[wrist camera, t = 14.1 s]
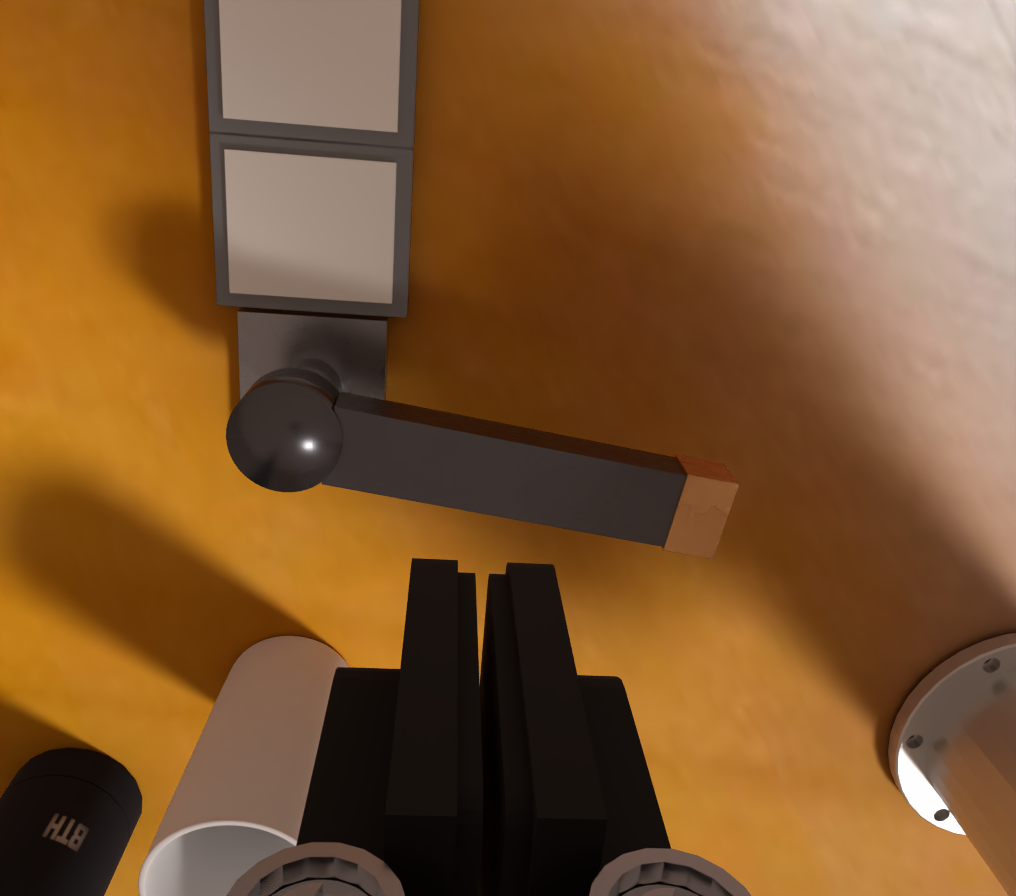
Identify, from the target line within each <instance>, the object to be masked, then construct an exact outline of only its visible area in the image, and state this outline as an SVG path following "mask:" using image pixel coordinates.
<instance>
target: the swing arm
mask: <svg viewBox="0 0 1016 896" xmlns="http://www.w3.org/2000/svg"><path fill="white" fill-rule="evenodd" d="M226 440H227V446H228V450H229V453H230V455H231V458H232V459H233V461H234V463H235V464H236V466H237V467H238V469H239V470H240V471H241V472H242V473H243V474H244V475H245V476H246V477H247V478H249V479H250V480H251V481H253V482H254V483H256V484H258V485H260V486H262V487H264V488H267V489H270V490H274V491H279V492H297V491H302V490H306V489H309V488H312V487H314V486H316V485H317V484H319V483H321V482H322V484H324V485H329V486H335V487H340V488H346V489H351V490H356V491H362V492H367V493H373V494H378V495H384V496H389V497H395V498H400V499H406V500H411V501H416V502H422V503H427V504H433V505H438V506H444V507H449V508H455V509H460V510H466V511H471V512H477V513H482V514H487V515H493V516H498V517H504V518H509V519H515V520H520V521H526V522H531V523H537V524H542V525H547V526H553V527H558V528H564V529H569V530H575V531H580V532H586V533H591V534H597V535H602V536H607V537H613V538H618V539H624V540H629V541H635V542H640V543H646V544H651V545H657V546H662V548H663V550H664V551H670V552H675V553H681V554H686V555H692V556H697V557H703V558H708V559H713V558H714V555H715V552H716V550H717V547H718V544H719V541H720V538H721V535H722V532H723V530H724V527H725V524H726V521H727V518H728V515H729V512H730V510H731V507H732V504H733V501H734V498H735V495H736V492H737V490H738V487H739V483H738V482H737V481H736V479H735V478H734V477H733V475H732V474H731V473H730V471H729V470H728V469H727V467H726V466H725V465H724V464H722V463H717V462H712V461H707V460H702V459H697V458H692V457H687V456H682V455H677V454H675V457H670V456H665V455H660V454H655V453H650V452H645V451H640V450H635V449H630V448H624V447H619V446H614V445H609V444H604V443H599V442H594V441H589V440H584V439H579V438H574V437H569V436H564V435H559V434H554V433H549V432H544V431H538V430H533V429H528V428H523V427H518V426H513V425H508V424H503V423H498V422H493V421H488V420H483V419H478V418H473V417H468V416H463V415H458V414H453V413H447V412H442V411H437V410H432V409H427V408H422V407H417V406H412V405H407V404H402V403H397V402H392V401H387V400H382V399H377V398H372V397H367V396H361V395H356V394H351V393H346V392H341V393H340V392H339V391H338V390H337V389H336V387H335V386H334V385H333V384H332V383H330V382H329V381H328V380H327V379H325V378H324V377H322V376H320V375H319V374H317V373H314V372H312V371H309V370H305V369H299V368H283V369H278V370H274V371H272V372H269V373H267V374H265V375H263V376H262V377H260V378H259V379H258V380H257V381H256V382H255V383H254V384H253V385H252V386H251V387H250V388H249V390H248V391H247V392H246V394H245V395H244V396H243V398H242V399H241V400H240V402H239V403H238V404H237V406H236V407H235V408H234V410H233V411H232V413H231V415H230V418H229V420H228V424H227V429H226Z"/></svg>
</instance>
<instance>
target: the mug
mask: <svg viewBox="0 0 1016 896" xmlns="http://www.w3.org/2000/svg"><path fill="white" fill-rule="evenodd" d="M337 667H349V666H348V664H347V663H346V662H345V660H344V659H343V658H342V657H341V656H340V655H339V654H338V653H337V652H336V651H334V650H333V649H332V648H330V647H328V646H327V645H325V644H323V643H321V642H319V641H316V640H313V639H310V638H306V637H300V636H278V637H273V638H269V639H266V640H263V641H260V642H258V643H256V644H254V645H253V646H251V647H250V648H248V649H247V650H246V651H245V652H243V653H242V654H241V655H240V657H239V658H238V659H237V660H236V662H235V663H234V665H233V666H232V668H231V670H230V672H229V674H228V676H227V679H226V681H225V683H224V685H223V687H222V689H221V691H220V693H219V695H218V697H217V700H216V702H215V704H214V706H213V709H212V711H211V713H210V715H209V718H208V720H207V722H206V724H205V727H204V729H203V731H202V733H201V736H200V738H199V740H198V742H197V745H196V747H195V749H194V751H193V753H192V756H191V758H190V760H189V762H188V764H187V767H186V769H185V771H184V773H183V775H182V778H181V780H180V782H179V784H178V787H177V789H176V791H175V793H174V795H173V798H172V800H171V802H170V804H169V806H168V809H167V811H166V813H165V815H164V817H163V820H162V822H161V824H160V826H159V829H158V831H157V833H156V836H155V838H154V840H153V843H152V845H151V848H150V850H149V853H148V855H147V857H146V858H145V860H144V862H143V865H142V867H141V870H140V874H139V882H138V888H139V896H226V895H227V894H228V892H229V891H230V889H231V888H232V886H233V885H234V883H235V882H236V881H237V879H238V878H240V877H241V876H242V875H243V874H244V873H246V872H247V871H248V870H249V869H250V868H251V867H253V866H254V865H255V864H256V863H257V862H259V861H260V860H262V859H264V858H266V857H268V856H271V855H273V854H275V853H277V852H279V851H281V850H283V849H285V848H289V847H293V846H296V844H297V840H298V835H299V831H300V826H301V822H302V817H303V812H304V808H305V803H306V799H307V794H308V790H309V785H310V781H311V776H312V772H313V767H314V763H315V758H316V754H317V749H318V745H319V740H320V736H321V731H322V727H323V722H324V718H325V713H326V709H327V704H328V700H329V695H330V691H331V686H332V682H333V677H334V674H335V670H336V669H337Z"/></svg>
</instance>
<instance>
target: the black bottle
mask: <svg viewBox="0 0 1016 896" xmlns="http://www.w3.org/2000/svg"><path fill="white" fill-rule="evenodd" d="M141 813H142V795H141V793H140V790H139V787H138V785H137V782H136V781H135V779H134V778H133V777H132V776H131V775H130V773H129V772H128V771H127V770H126V769H125V768H124V767H123V766H121V765H120V764H118V763H117V762H115V761H114V760H112V759H111V758H109V757H107V756H104V755H101V754H98V753H96V752H93V751H90V750H83V749H73V748H65V749H58V750H51V751H47V752H45V753H43V754H41V755H38V756H36V757H34V758H32V759H30V760H29V761H28V762H27V763H26V764H25V765H24V766H23V767H22V768H21V769H20V770H19V771H18V773H17V774H16V776H15V777H14V779H13V780H12V782H11V783H10V785H9V786H8V788H7V789H6V791H5V792H4V794H3V795H2V797H1V798H0V896H104V895H105V892H106V890H107V888H108V886H109V884H110V881H111V879H112V877H113V875H114V872H115V870H116V868H117V866H118V864H119V861H120V859H121V857H122V855H123V853H124V850H125V848H126V846H127V844H128V842H129V839H130V837H131V835H132V833H133V831H134V828H135V826H136V824H137V822H138V819H139V817H140V815H141Z"/></svg>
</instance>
